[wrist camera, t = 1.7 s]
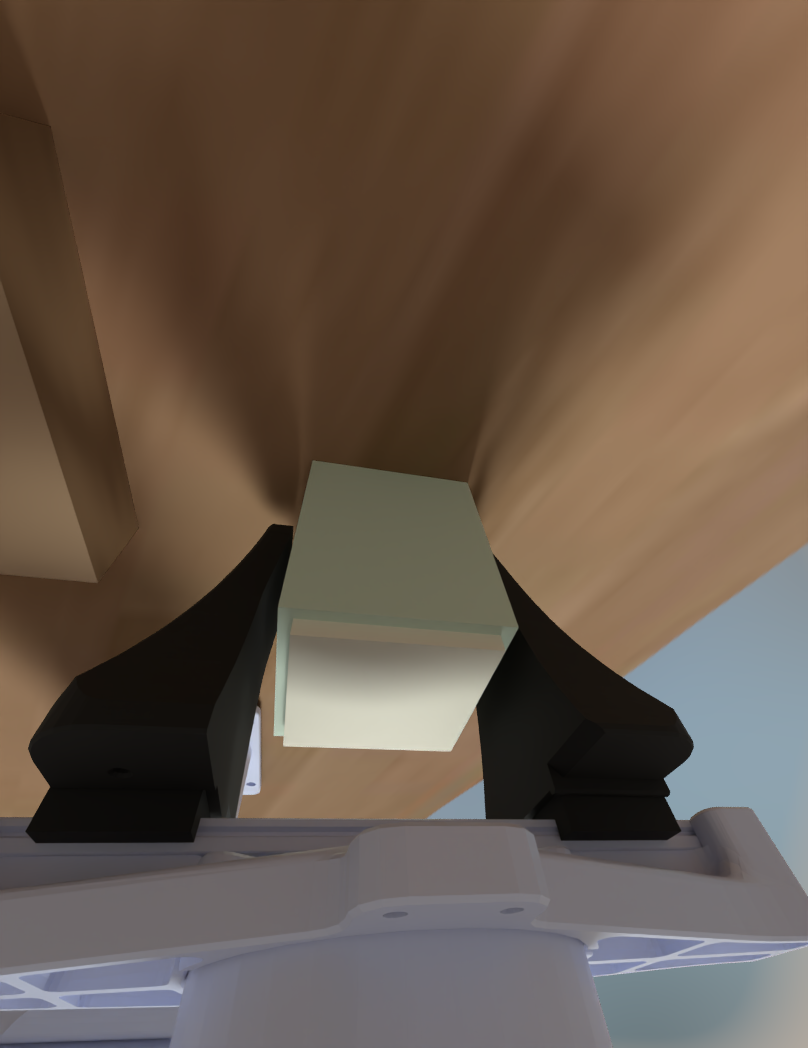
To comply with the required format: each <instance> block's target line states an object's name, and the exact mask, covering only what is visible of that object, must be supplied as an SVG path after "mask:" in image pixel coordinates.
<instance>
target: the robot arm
mask: <svg viewBox="0 0 808 1048" xmlns="http://www.w3.org/2000/svg"><path fill="white" fill-rule="evenodd" d="M292 540H293V526H286V525H277V524H272V525H271V526H269V527H268V529H267V530H266V532H265V533H264V534H263V536H262V537H261V538H260V540H259V541H258V542H257V544H256V545H255V546H254V547H253V548H252V550H251V551H250V552H249V553H248V554H247V555H246V556H245V557H244V559H243V560H242V561H241V562H240V563H239V564H238V565H237V566H236V567H235V568H234V569H233V570H232V571H231V572H230V573H229V574H228V575H227V576H226V577H225V578H224V579H223V580H222V581H221V582H220V583H219V584H218V585H217V586H216V587H215V588H214V589H212V590H211V591H210V592H209V593H208V594H207V595H206V596H204V597H203V598H202V599H201V600H200V601H198V602H197V603H196V604H195V605H194V606H192V607H191V608H190V609H188V610H187V611H186V612H184V613H183V614H182V615H180V616H179V617H178V618H176V619H175V620H173V621H172V622H171V623H169V624H168V625H166V626H165V627H163V628H162V629H160V630H159V631H157V632H156V633H154V634H153V635H151V636H149V637H148V638H146V639H144V640H143V641H141V642H140V643H138V644H136V645H135V646H133V647H132V648H130V649H128V650H127V651H125V652H123V653H121V654H120V655H118V656H116V657H114V658H112V659H110V660H108V661H106V662H104V663H102V664H100V665H98V666H97V667H95V668H93V669H91V670H89V671H87V672H85V673H83V674H81V675H79V676H77V677H75V678H74V680H73V681H72V682H71V684H70V685H69V686H68V687H67V689H66V690H65V691H64V692H63V693H62V694H61V696H60V697H59V698H58V700H57V701H56V702H55V704H54V705H53V706H52V708H51V710H50V711H49V713H48V714H47V716H46V717H45V719H44V720H43V722H42V723H41V725H40V727H39V728H38V730H37V731H36V733H35V734H34V736H33V737H32V739H31V741H30V744H29V747H28V750H29V752H30V755H31V758H32V760H33V762H34V763H35V765H36V766H37V768H38V769H39V771H40V772H41V774H42V775H43V777H44V778H45V779H46V781H47V782H48V784H49V785H50V788H49V790H48V792H47V793H46V795H45V797H44V799H43V801H42V802H41V804H40V806H39V808H38V810H37V811H36V813H35V815H34V817H0V1048H613V1046H612V1043H611V1039H610V1036H609V1032H608V1029H607V1025H606V1022H605V1018H604V1015H603V1012H602V1008H601V1004H600V1001H599V998H598V994H597V991H596V987H595V984H594V980H593V977H597V976H605V975H615V974H624V973H632V972H642V971H651V970H660V969H669V968H679V967H688V966H700V965H711V964H721V963H722V964H723V963H737V962H749V961H750V962H751V961H757V960H760V959H764V958H767V957H772V956H775V955H778V954H782V953H786V952H790V951H793V950H797V949H800V948H804V947H808V896H807V895H806V893H805V892H804V890H803V889H802V887H801V885H800V884H799V882H798V881H797V879H796V877H795V876H794V875H793V873H792V871H791V869H790V868H789V866H788V865H787V863H786V862H785V860H784V858H783V857H782V856H781V854H780V852H779V851H778V849H777V848H776V846H775V844H774V843H773V841H772V840H771V838H770V836H769V835H768V833H767V832H766V830H765V829H764V827H763V825H762V824H761V822H760V821H759V819H758V818H757V816H756V815H755V813H754V811H753V810H752V809H750V808H748V807H712V808H708V809H704V810H702V811H700V812H698V813H697V814H695V815H694V816H692V817H691V819H690V820H676V819H675V817H674V815H673V813H672V811H671V809H670V807H669V805H668V803H667V801H666V799H665V797H668V796H669V795H670V790H669V788H668V786H667V784H666V782H665V781H664V779H663V778H665V777H666V776H667V775H668V774H670V773H671V772H672V771H674V770H675V769H676V768H677V767H679V766H680V765H681V764H682V763H684V762H685V761H686V760H687V759H688V757H689V756H690V755H691V752H692V750H693V747H694V746H693V741H692V739H691V737H690V736H689V734H688V732H687V731H686V729H685V727H684V726H683V724H682V723H681V721H680V719H679V717H678V716H677V714H676V713H675V711H674V709H673V708H671V707H669V706H667V705H666V704H664V703H662V702H661V701H659V700H657V699H656V698H654V697H652V696H651V695H649V694H647V693H646V692H644V691H642V690H641V689H639V688H637V687H636V686H634V685H633V684H631V683H630V682H628V681H627V680H625V679H624V678H622V677H621V676H619V675H618V674H616V673H615V672H614V671H612V670H611V669H609V668H608V667H607V666H605V665H604V664H602V663H601V662H600V661H599V660H597V659H596V658H595V657H593V656H592V655H591V654H590V653H588V652H587V651H586V650H584V649H583V648H582V647H581V646H580V645H578V644H577V643H576V642H575V641H574V640H572V639H571V638H570V637H569V636H568V635H567V634H566V633H565V632H564V631H562V630H561V629H560V628H559V627H558V626H557V625H556V624H555V623H554V622H553V621H552V620H551V619H550V618H549V617H548V616H547V615H546V614H545V613H544V612H543V611H542V610H541V609H540V608H539V607H538V606H537V605H536V604H535V603H534V602H533V600H532V599H531V598H530V597H529V596H528V595H527V594H526V593H525V592H524V590H523V589H522V588H521V587H520V586H519V585H518V583H517V582H516V581H515V580H514V579H513V577H512V576H511V575H510V574H509V573H508V571H507V570H506V569H505V568H504V566H503V565H502V564H501V563H500V562H499V560H498V559H497V558H496V557H495V556H494V554H493V556H494V559H495V562H496V565H497V567H498V570H499V573H500V576H501V579H502V582H503V584H504V587H505V590H506V593H507V596H508V599H509V601H510V604H511V607H512V610H513V613H514V616H515V618H516V621H517V624H518V627H519V628H518V630H517V632H516V633H515V635H514V637H513V639H512V641H511V642H510V644H509V646H508V648H507V650H506V652H505V653H504V655H503V657H502V659H501V661H500V663H499V664H498V666H497V668H496V670H495V672H494V674H493V675H492V677H491V679H490V681H489V683H488V685H487V686H486V688H485V690H484V692H483V694H482V695H481V697H480V699H479V701H478V703H477V705H476V708H477V716H478V725H479V734H480V744H481V754H482V766H483V779H484V794H485V812H486V819H300V818H238V814H239V809H240V805H241V800H242V796H243V795H254V794H257V793H259V792H260V789H261V709H260V708H259V707H258V706H257V703H258V698H259V693H260V688H261V683H262V679H263V675H264V671H265V667H266V664H267V661H268V658H269V654H270V651H271V648H272V645H273V641H274V638H275V635H276V632H277V622H278V605H279V600H280V596H281V592H282V588H283V584H284V579H285V575H286V571H287V567H288V562H289V558H290V554H291V550H292Z"/></svg>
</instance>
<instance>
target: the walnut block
mask: <svg viewBox="0 0 808 1048" xmlns="http://www.w3.org/2000/svg"><path fill="white" fill-rule="evenodd" d="M138 528H139V527H138V523H137V518H136V514H135V509H134V504H133V500H132V495H131V491H130V486H129V482H128V477H127V473H126V468H125V464H124V459H123V454H122V450H121V445H120V441H119V436H118V432H117V427H116V423H115V418H114V414H113V409H112V404H111V400H110V395H109V391H108V386H107V382H106V377H105V373H104V368H103V363H102V359H101V354H100V350H99V345H98V341H97V336H96V332H95V327H94V323H93V318H92V313H91V309H90V304H89V300H88V295H87V291H86V286H85V282H84V277H83V273H82V268H81V263H80V259H79V254H78V250H77V245H76V241H75V236H74V232H73V227H72V222H71V218H70V213H69V209H68V204H67V200H66V195H65V191H64V186H63V182H62V177H61V172H60V168H59V163H58V159H57V154H56V150H55V145H54V141H53V136H52V132H51V127H50V126H46V125H43V124H39V123H35V122H32V121H28V120H24V119H20V118H17V117H13V116H9V115H6V114H2V113H0V574H3V575H14V576H25V577H36V578H47V579H59V580H70V581H81V582H92V583H98V582H99V581H100V579H101V578H102V577H103V575H104V574H105V573H106V571H107V570H108V569H109V567H110V566H111V565H112V563H113V562H114V561H115V559H116V558H117V557H118V555H119V554H120V553H121V551H122V550H123V549H124V547H125V546H126V545H127V543H128V542H129V541H130V539H131V538H132V536H133V535H134V534H135V532H136V531H137V530H138Z"/></svg>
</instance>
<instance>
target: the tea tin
mask: <svg viewBox="0 0 808 1048" xmlns="http://www.w3.org/2000/svg"><path fill="white" fill-rule="evenodd" d="M518 628H519V627H518V624H517V621H516V618H515V616H514V613H513V610H512V607H511V604H510V601H509V599H508V596H507V593H506V590H505V587H504V584H503V582H502V579H501V576H500V573H499V570H498V567H497V565H496V562H495V559H494V556H493V553H492V551H491V548H490V545H489V542H488V539H487V536H486V534H485V531H484V528H483V525H482V522H481V519H480V517H479V514H478V511H477V508H476V505H475V502H474V500H473V497H472V494H471V491H470V488H469V485H468V483H466V482H459V481H452V480H446V479H439V478H432V477H425V476H418V475H411V474H404V473H397V472H390V471H383V470H376V469H370V468H363V467H356V466H349V465H342V464H335V463H328V462H321V461H314V460H313V461H312V465H311V470H310V474H309V478H308V482H307V486H306V491H305V495H304V499H303V503H302V508H301V512H300V516H299V520H298V524H297V529H296V533H295V537H294V541H293V546H292V550H291V554H290V558H289V562H288V567H287V571H286V575H285V579H284V584H283V588H282V592H281V596H280V600H279V605H278V622H277V652H276V683H275V714H274V736H284V742H283V746H295V747H327V748H358V749H390V750H422V751H451V750H452V748H453V746H454V744H455V743H456V741H457V739H458V738H459V736H460V734H461V732H462V730H463V728H464V727H465V725H466V723H467V721H468V719H469V717H470V716H471V714H472V712H473V710H474V708H475V706H476V705H477V703H478V701H479V699H480V697H481V695H482V694H483V692H484V690H485V688H486V686H487V685H488V683H489V681H490V679H491V677H492V675H493V674H494V672H495V670H496V668H497V666H498V664H499V663H500V661H501V659H502V657H503V655H504V653H505V652H506V650H507V648H508V646H509V644H510V642H511V641H512V639H513V637H514V635H515V633H516V632H517V630H518Z"/></svg>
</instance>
